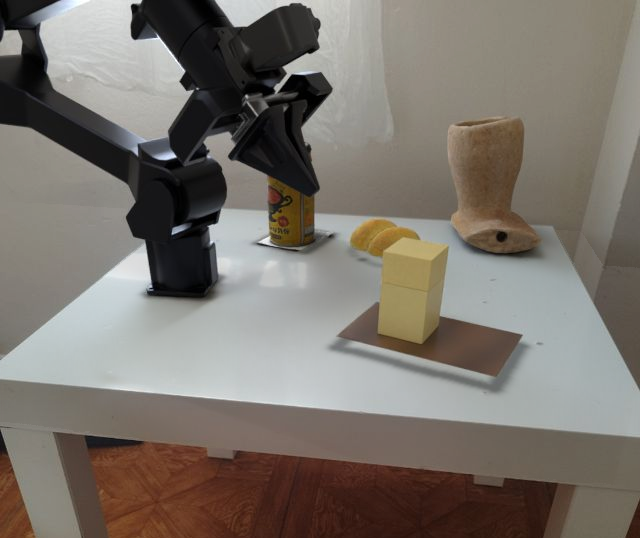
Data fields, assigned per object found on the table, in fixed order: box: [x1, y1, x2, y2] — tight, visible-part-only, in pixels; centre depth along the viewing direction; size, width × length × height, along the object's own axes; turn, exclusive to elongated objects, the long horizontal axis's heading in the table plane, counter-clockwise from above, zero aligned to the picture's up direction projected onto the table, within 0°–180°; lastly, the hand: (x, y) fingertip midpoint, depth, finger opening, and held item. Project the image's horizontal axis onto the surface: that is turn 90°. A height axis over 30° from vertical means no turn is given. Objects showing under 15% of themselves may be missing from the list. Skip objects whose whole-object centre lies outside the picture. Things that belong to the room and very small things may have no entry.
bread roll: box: [349, 217, 421, 258], centre depth 77 cm, size 8×9×4 cm
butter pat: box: [380, 237, 450, 292], centre depth 54 cm, size 4×4×3 cm
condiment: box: [256, 141, 334, 251], centre depth 79 cm, size 7×8×12 cm
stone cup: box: [446, 115, 543, 254], centre depth 79 cm, size 15×12×15 cm
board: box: [336, 301, 523, 378], centre depth 57 cm, size 15×9×1 cm, turn 61°
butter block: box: [378, 275, 446, 344], centre depth 56 cm, size 4×4×5 cm
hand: (315, 193), depth 55 cm, fingers closed
